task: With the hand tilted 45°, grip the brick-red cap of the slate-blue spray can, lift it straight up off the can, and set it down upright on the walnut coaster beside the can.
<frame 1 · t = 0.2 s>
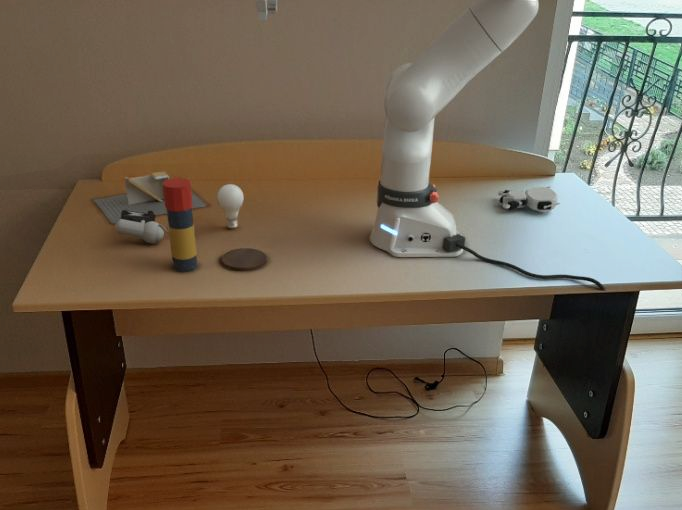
hand: (267, 16, 142), 48 cm above the table, tool pointing down, fingers open, 8 cm apart
cap: (179, 206, 143), point 14 cm above the table, touching spray can
clip-on lamp: (158, 237, 164), on the table
robot toy: (526, 208, 185), on the table
spray can: (185, 266, 151), on the table, touching cap
lightbulb: (232, 228, 169), on the table
model: (150, 203, 181), on the table
coaster: (244, 260, 154), on the table
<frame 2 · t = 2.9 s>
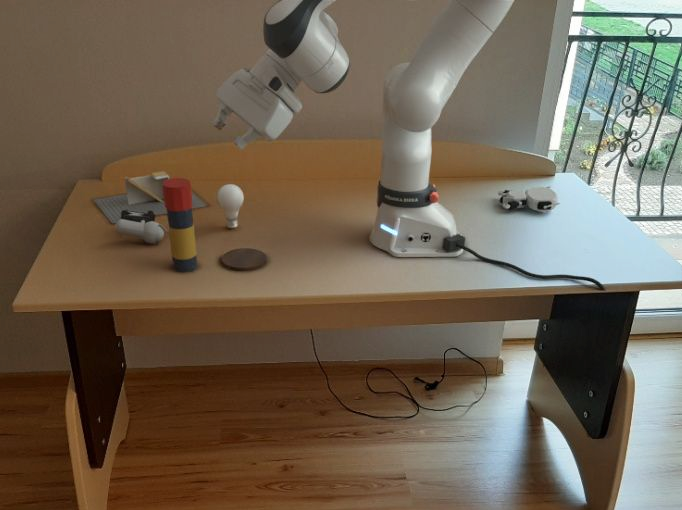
hand: (226, 136, 137), 28 cm above the table, tool tilted 45°, fingers open, 8 cm apart
nothing on the table moved.
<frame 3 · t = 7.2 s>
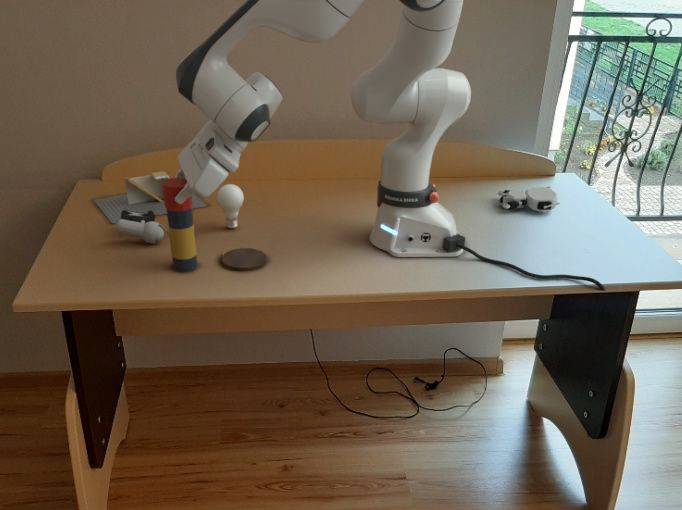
hand: (174, 195, 142), 16 cm above the table, tool tilted 45°, fingers closed on cap, 5 cm apart
cap: (178, 206, 143), point 14 cm above the table, touching gripper, spray can
everything else where it was.
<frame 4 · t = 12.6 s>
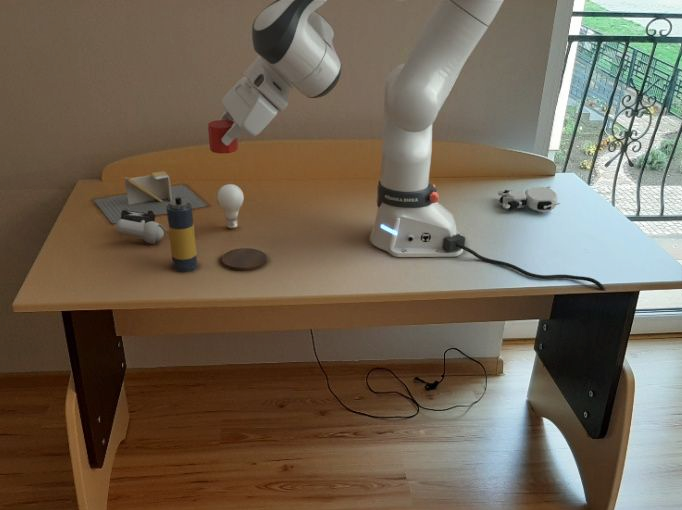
hand: (220, 137, 138), 28 cm above the table, tool tilted 45°, fingers closed on cap, 5 cm apart
cap: (224, 149, 140), point 25 cm above the table, touching gripper
spray can: (185, 266, 151), on the table
everything else where it was.
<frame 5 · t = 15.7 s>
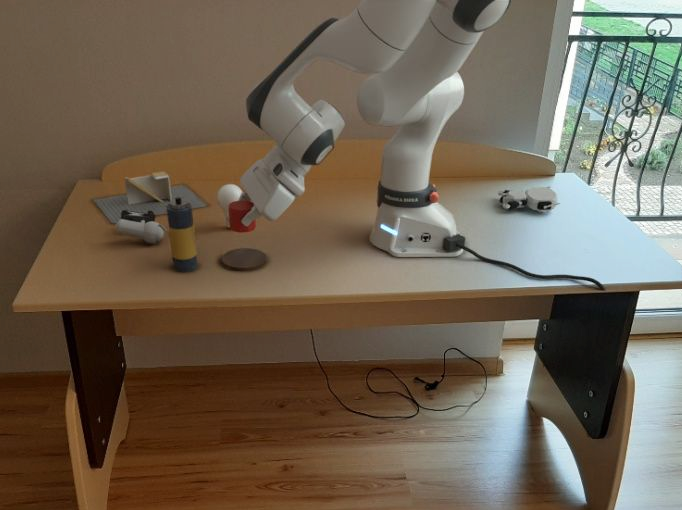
hand: (239, 217, 148), 11 cm above the table, tool tilted 45°, fingers closed on cap, 5 cm apart
cap: (242, 227, 149), point 8 cm above the table, touching gripper
everything else where it was.
when the fingers open (3 cm above the table, at t = 18.1 s): cap stays where it is, resting on coaster.
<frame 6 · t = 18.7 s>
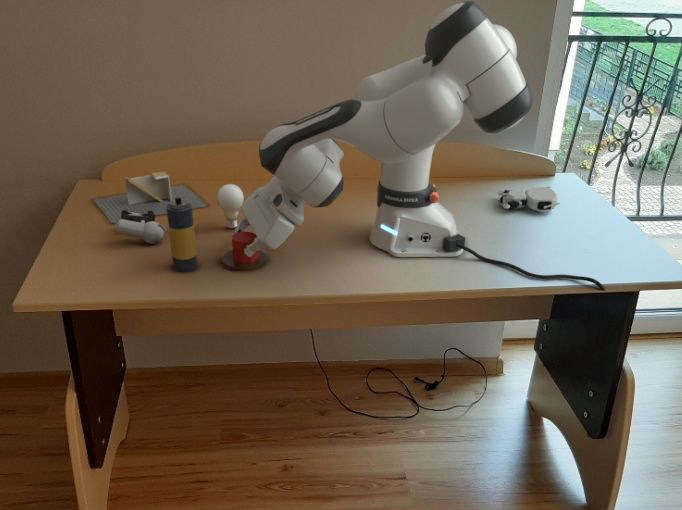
hand: (241, 244, 152), 4 cm above the table, tool tilted 45°, fingers open, 8 cm apart
cap: (245, 257, 154), point 1 cm above the table, touching coaster
everything else where it was.
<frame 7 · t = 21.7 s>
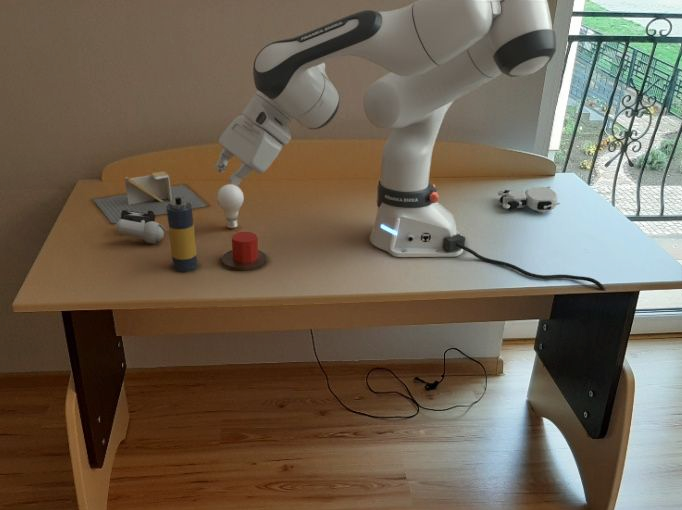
hand: (225, 177, 141), 20 cm above the table, tool tilted 40°, fingers open, 8 cm apart
nothing on the table moved.
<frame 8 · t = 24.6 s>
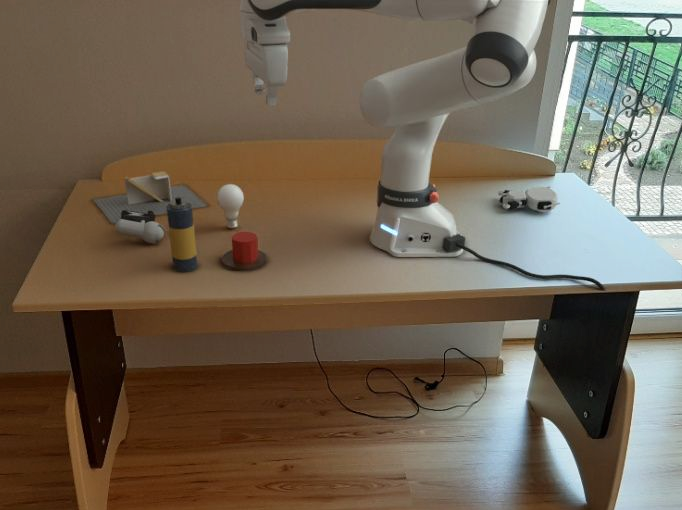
hand: (265, 99, 143), 33 cm above the table, tool pointing down, fingers open, 8 cm apart
nothing on the table moved.
at the end: cap 0.3 cm off-centre on the coaster, point 0.8 cm above the coaster's base; cap tilted 0°; spray can tilted 0° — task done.
